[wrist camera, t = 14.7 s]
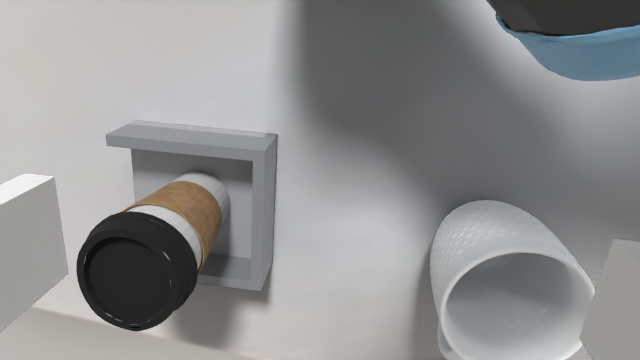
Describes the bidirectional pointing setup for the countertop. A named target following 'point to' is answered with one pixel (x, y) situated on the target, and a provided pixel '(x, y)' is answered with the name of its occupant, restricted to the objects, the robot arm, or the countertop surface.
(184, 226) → the coffee cup
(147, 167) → the dock
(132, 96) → the countertop surface
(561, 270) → the mug
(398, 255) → the countertop surface
